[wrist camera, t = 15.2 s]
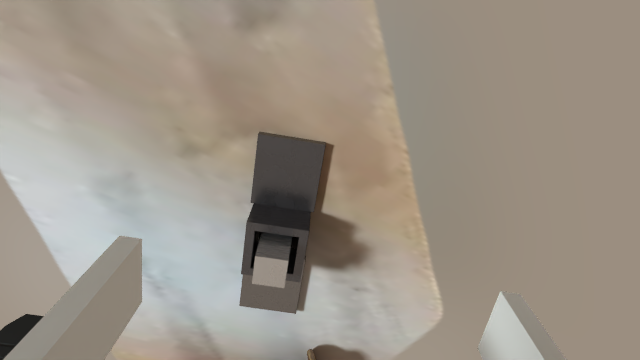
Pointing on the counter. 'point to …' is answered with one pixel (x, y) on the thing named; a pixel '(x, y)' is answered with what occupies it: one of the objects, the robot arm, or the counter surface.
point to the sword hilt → (310, 355)
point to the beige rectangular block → (272, 260)
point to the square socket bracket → (281, 213)
